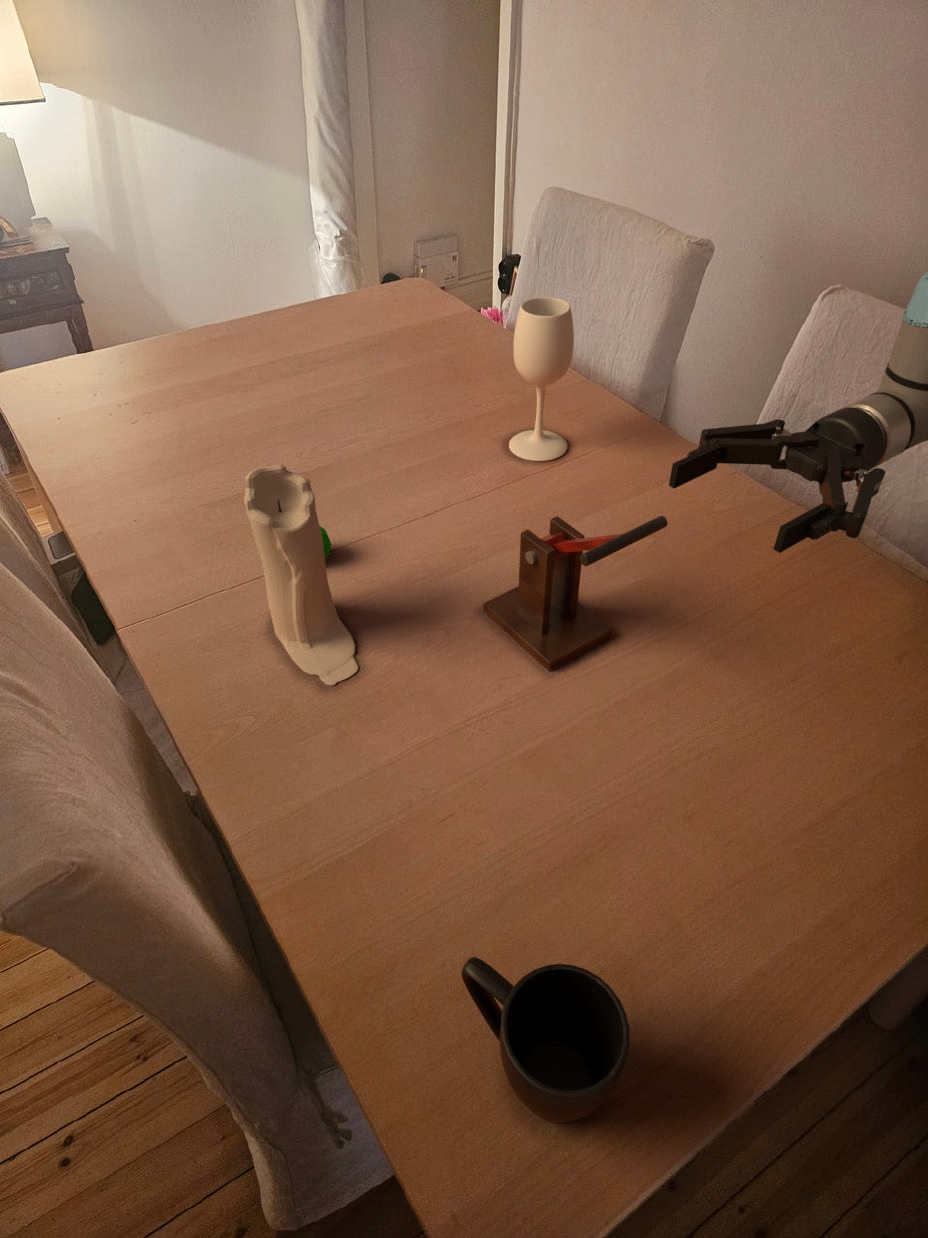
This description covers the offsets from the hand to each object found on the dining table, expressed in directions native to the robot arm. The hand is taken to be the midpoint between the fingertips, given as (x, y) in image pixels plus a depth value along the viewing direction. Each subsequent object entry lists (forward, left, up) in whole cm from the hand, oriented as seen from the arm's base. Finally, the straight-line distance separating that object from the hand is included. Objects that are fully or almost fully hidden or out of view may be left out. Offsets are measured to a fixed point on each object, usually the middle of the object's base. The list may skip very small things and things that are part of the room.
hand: (723, 506), depth 81 cm
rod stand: (+12, +12, -17) cm, 24 cm away
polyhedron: (+40, +25, -17) cm, 50 cm away
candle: (+27, +33, -17) cm, 46 cm away
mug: (-20, +46, -17) cm, 53 cm away
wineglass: (+40, -15, -17) cm, 46 cm away
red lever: (+7, +12, -4) cm, 14 cm away
